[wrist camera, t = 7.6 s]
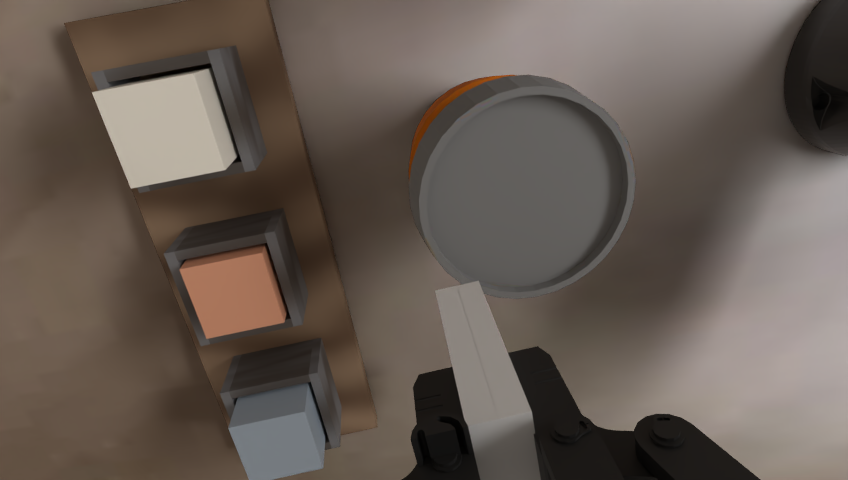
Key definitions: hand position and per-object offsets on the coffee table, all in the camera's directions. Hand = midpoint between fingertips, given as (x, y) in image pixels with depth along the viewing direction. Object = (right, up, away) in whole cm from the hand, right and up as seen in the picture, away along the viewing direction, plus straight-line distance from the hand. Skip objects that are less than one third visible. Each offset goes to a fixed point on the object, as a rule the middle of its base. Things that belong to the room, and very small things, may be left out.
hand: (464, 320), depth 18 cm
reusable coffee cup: (+2, +11, +25) cm, 27 cm away
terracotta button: (-15, +1, +23) cm, 28 cm away
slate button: (-13, -11, +26) cm, 31 cm away
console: (-16, +2, +26) cm, 30 cm away
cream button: (-17, +11, +17) cm, 26 cm away
